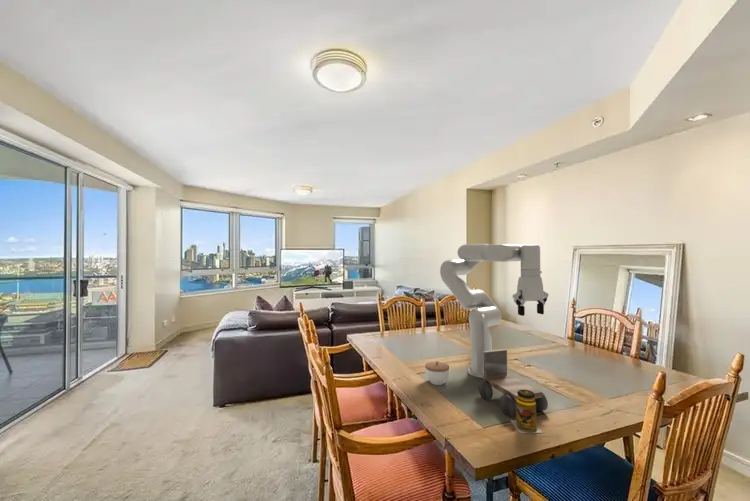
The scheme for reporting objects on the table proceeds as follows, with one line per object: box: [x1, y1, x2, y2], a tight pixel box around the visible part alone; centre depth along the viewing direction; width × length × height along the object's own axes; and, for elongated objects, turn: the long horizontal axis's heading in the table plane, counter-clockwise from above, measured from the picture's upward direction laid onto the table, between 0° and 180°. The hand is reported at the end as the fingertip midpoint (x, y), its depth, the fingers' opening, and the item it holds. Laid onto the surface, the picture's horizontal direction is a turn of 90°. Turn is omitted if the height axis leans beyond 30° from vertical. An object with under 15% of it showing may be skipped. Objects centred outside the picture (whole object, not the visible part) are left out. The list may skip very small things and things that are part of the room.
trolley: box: [477, 348, 549, 418], centre depth 128 cm, size 21×15×18 cm
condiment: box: [509, 390, 544, 434], centre depth 112 cm, size 7×8×12 cm
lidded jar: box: [424, 360, 450, 386], centre depth 150 cm, size 11×11×9 cm
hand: (530, 314), depth 140 cm, fingers open, 9 cm apart
